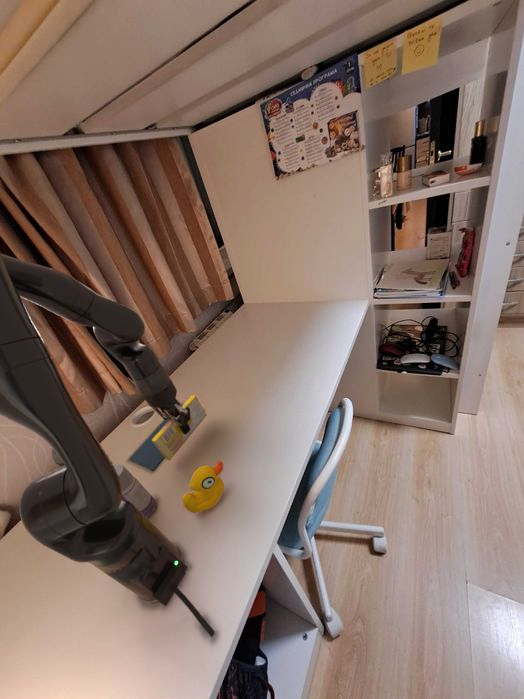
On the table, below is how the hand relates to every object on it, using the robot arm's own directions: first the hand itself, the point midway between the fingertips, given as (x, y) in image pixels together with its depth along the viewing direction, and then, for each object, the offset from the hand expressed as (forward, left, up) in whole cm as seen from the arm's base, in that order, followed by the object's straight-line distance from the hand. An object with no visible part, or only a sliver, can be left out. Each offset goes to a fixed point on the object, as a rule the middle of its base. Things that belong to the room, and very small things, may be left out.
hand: (184, 430), depth 80 cm
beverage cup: (+23, +19, -6) cm, 30 cm away
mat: (+11, 0, -6) cm, 12 cm away
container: (-1, +19, -6) cm, 20 cm away
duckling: (-16, +11, -6) cm, 21 cm away
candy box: (0, 0, -3) cm, 3 cm away
